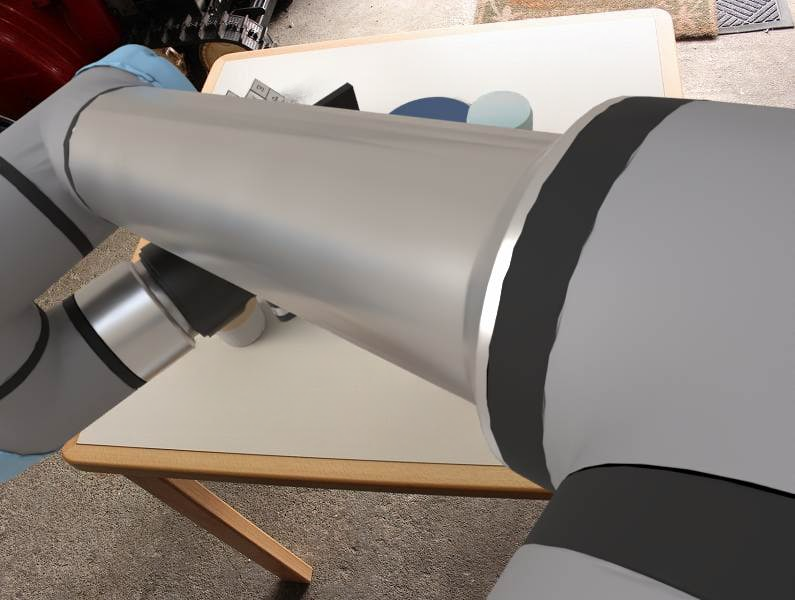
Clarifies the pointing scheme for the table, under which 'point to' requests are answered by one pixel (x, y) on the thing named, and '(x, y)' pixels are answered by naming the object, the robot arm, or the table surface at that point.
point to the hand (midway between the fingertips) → (406, 133)
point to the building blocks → (260, 92)
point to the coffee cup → (244, 326)
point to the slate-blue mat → (435, 109)
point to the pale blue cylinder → (502, 110)
